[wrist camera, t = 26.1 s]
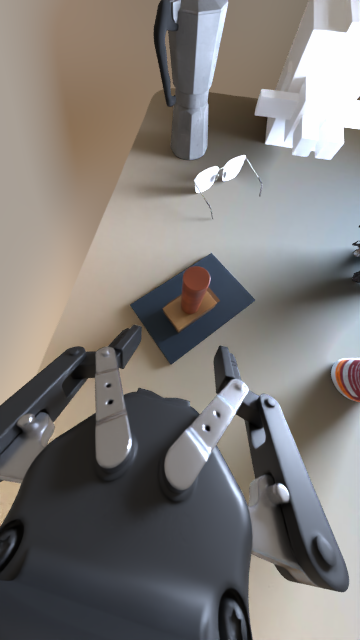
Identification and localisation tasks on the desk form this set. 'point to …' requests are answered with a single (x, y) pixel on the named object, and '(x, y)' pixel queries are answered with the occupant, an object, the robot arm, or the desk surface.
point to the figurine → (356, 276)
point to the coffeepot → (189, 67)
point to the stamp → (191, 299)
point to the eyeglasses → (210, 174)
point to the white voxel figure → (317, 82)
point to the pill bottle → (347, 377)
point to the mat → (228, 305)
